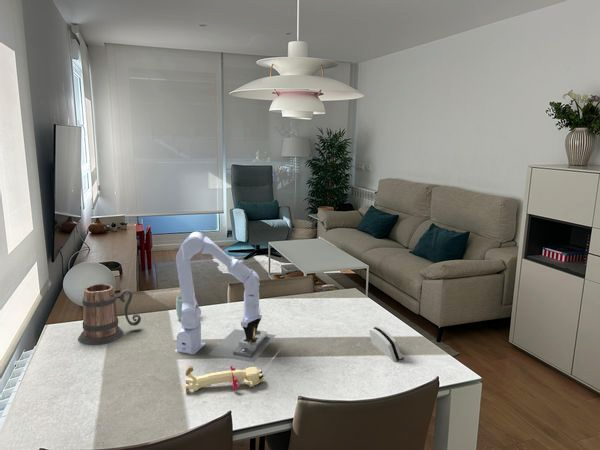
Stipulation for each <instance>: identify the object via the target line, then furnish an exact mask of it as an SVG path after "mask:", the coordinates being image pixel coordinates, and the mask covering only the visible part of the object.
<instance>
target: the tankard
mask: <svg viewBox="0 0 600 450" xmlns="http://www.w3.org/2000/svg"><path fill="white" fill-rule="evenodd" d="M83 292H84V293H83V297H82V305H83V306H82V307H83V308H82V314H83V318H82V319H83V321H82V329H83V331H82V332H80V335H79V336H78V337H77V342H78V343H79V344H80V345H81V344H82V345H85V346H91V347H92V346H103V345H108V344H112V343H115V342H117V341H119V340H120V339H122V338H123V336H124V335H125V332H124V330H122V328H121V327H120V326H119V318H118V312H117V304H116V303H117V302H116V300H117V299H119V300H120V301H121V302H122V303H125V302H126V303H125V305H124V317H125V319H126V322H127V323H128V324H129V326H131V327H132V326H133V327H135V326H137V325H139V324H140V323H141V321H142V318H141V315H140V314H139V313H135V314H133V315H132V320H133V321H131V320H130V319H129V315H128V309H129V306H130V303H131V301H132V299H133V294H132V291H131V290H130V289H122V290H121V292H120V293H119V294H118V295H116V294H115V291H114V287H113V285H111V284H105V283H96V284H93V285H90V286H88V287H86V288H84V291H83ZM126 293H127V294H128V293H129V296H128V299H127V301H126V300H125V294H126Z"/></svg>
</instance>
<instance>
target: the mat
mask: <svg viewBox="0 0 600 450" xmlns="http://www.w3.org/2000/svg"><path fill="white" fill-rule="evenodd" d="M244 336H245V332H244V329H243V330H242V329H238V328H237V329H236V328H234V329H233V330H232V331H231V332H230V333H229V334H228V335H227V336H226V337H225V338H224V339H223V340H222V341H221V342H219V344H217V345H216V347H215V348H213V350H212V351H210V353H208V355H209V356H215V357H220V358H226V359H230V360H231V359H232V360H238V361H244V362H250V363H255V362H256V361H257V359H258V358H259V357H260V356H261V355H262V354H263V352H264V351H265V350H266V348H267V347H268V346H269V344H271V342H272V341H273V340H274V338H275V337H276V334H270V333H268V335H267V338H266V340H265V341H264V342H263V343H262V345H261V346H260V347H259V348H258V349H257V351H256V352H255V353H254V354H253V355H252V357H246V356H239V355H233V351H234V350H235V349H236V348H237V347H238V346H239V342H240V341H241V339H242V338H243V337H244ZM208 355H207V356H208Z"/></svg>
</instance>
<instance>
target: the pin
mask: <svg viewBox="0 0 600 450" xmlns="http://www.w3.org/2000/svg"><path fill="white" fill-rule="evenodd" d="M247 342H252V343H255V328H254V333H253V339H252V340H247Z"/></svg>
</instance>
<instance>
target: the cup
mask: <svg viewBox="0 0 600 450" xmlns="http://www.w3.org/2000/svg"><path fill="white" fill-rule="evenodd" d="M175 309H176V310H175V311H176V315H177V318H178V319H179V321H181V317H182V298H181V294H179V295H177V296H176V299H175Z"/></svg>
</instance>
